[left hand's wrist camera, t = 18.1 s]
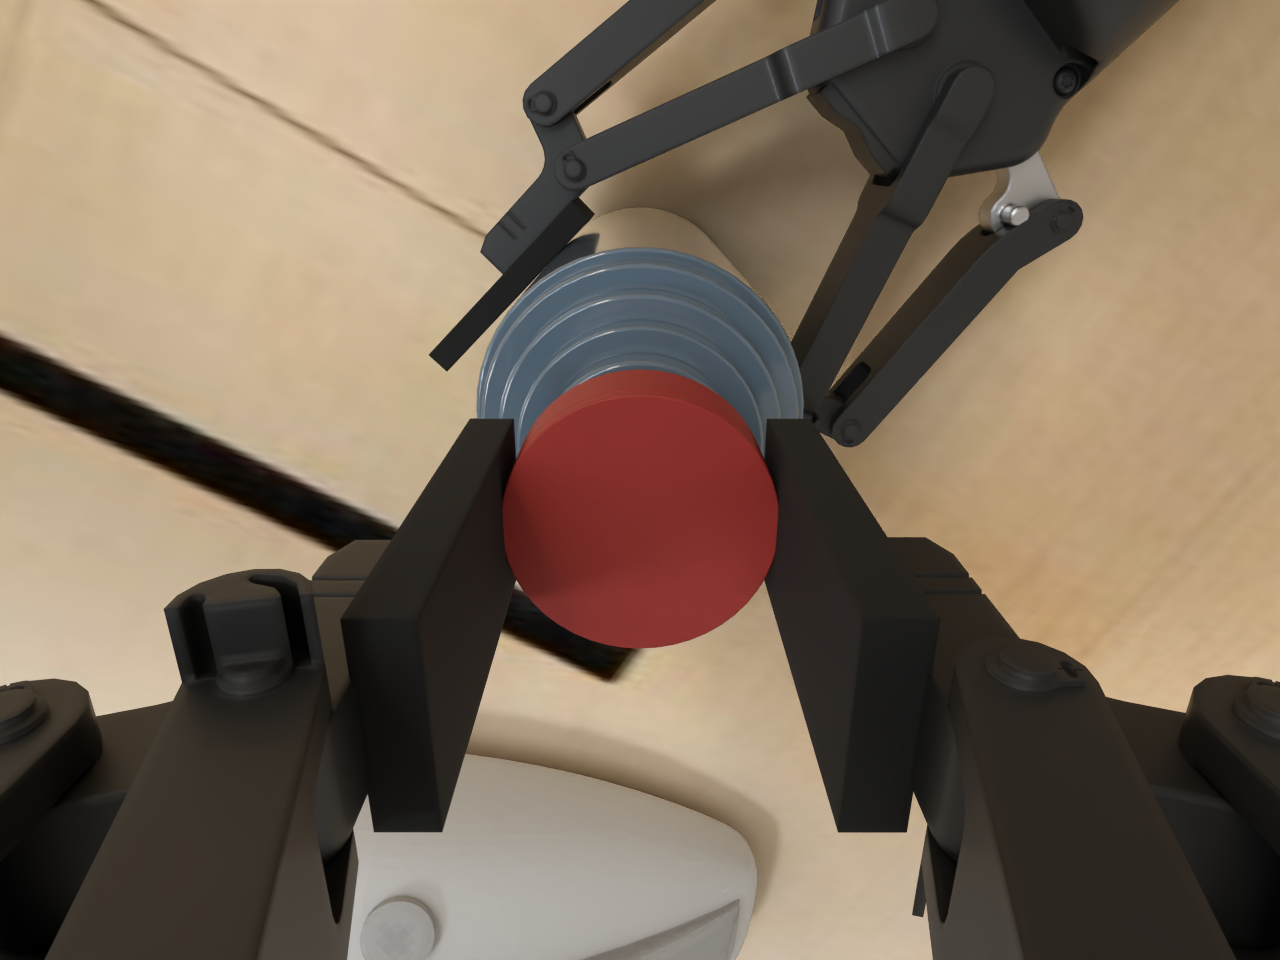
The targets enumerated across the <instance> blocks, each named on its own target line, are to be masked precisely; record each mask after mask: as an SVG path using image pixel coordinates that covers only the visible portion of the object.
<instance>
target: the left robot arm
mask: <svg viewBox="0 0 1280 960" xmlns="http://www.w3.org/2000/svg"><path fill="white" fill-rule="evenodd" d="M764 460H765V462H766V465H767V467H768V470H769V472H770V474H771V477H772V479H773V483H774V486H775V489H776V493H777V496H778V522H777V536H776V550H775V556H774V560H773V562H772V565H771V567H770V569H769V571H768V574H767V576H766V578H765V579H764V580H765V584H766V587H767V591H768V594H769V597H770V601H771V604H772V608H773V611H774V615H775V618H776V621H777V625H778V628H779V632H780V635H781V639H782V642H783V645H784V649H785V652H786V656H787V659H788V662H789V666H790V669H791V673H792V676H793V680H794V683H795V686H796V690H797V693H798V697H799V700H800V703H801V707H802V710H803V714H804V717H805V721H806V724H807V727H808V731H809V734H810V738H811V741H812V744H813V748H814V751H815V755H816V758H817V762H818V765H819V768H820V772H821V775H822V779H823V782H824V785H825V789H826V792H827V796H828V799H829V803H830V806H831V809H832V813H833V816H834V820H835V823H836V826H837V830H838V832H907V827H908V821H909V815H910V808H911V802H912V796H913V792H914V794H915V796H916V798H917V801H918V803H919V805H920V808H921V810H922V812H923V815H924V817H925V819H926V822H927V830H926V836H925V841H924V847H923V853H922V859H921V865H920V871H919V877H918V882H917V888H916V894H915V900H914V907H913V913H912V915H914V916H920V917H923V915H924V910H925V905H927V913H928V921H929V930H930V938H931V946H932V955H933V960H1280V682H1278V681H1276V683H1275V682H1272V680H1270V679H1264V678H1259V677H1244V676H1233V675H1224V676H1218V677H1211V678H1206V679H1204V680H1203V681H1202V682H1200V683H1199V684H1198V685H1196V686H1195V687H1194V688H1193V691H1192V695H1191V698H1190V701H1189V705H1188V708H1187V711H1186V713H1182V712H1177V711H1172V710H1167V709H1161V708H1156V707H1151V706H1145V705H1140V704H1135V703H1130V702H1125V701H1121V700H1116V699H1112V698H1108V697H1105V695H1104V693H1103V691H1102V689H1101V687H1100V685H1099V683H1098V681H1097V680H1096V679H1095V678H1094V676H1093V675H1092V674H1091V673H1090V671H1089V670H1088V669H1087V668H1086V667H1085V666H1084V665H1082V664H1081V663H1079V662H1078V661H1076V660H1075V659H1073V658H1072V657H1070V656H1069V655H1067V654H1066V653H1064V652H1061V651H1059V650H1056V649H1054V648H1051V647H1049V646H1046V645H1044V644H1041V643H1038V642H1034V641H1029V640H1024V639H1020V638H1019V637H1018V636H1017V634H1016V633H1015V632H1014V631H1013V629H1012V628H1011V627H1010V625H1009V624H1008V623H1007V622H1006V620H1005V619H1004V618H1003V617H1002V615H1001V614H1000V613H999V611H998V610H997V609H996V608H995V606H994V605H993V604H992V603H991V601H990V600H989V599H988V598H987V596H986V595H985V594H982V590H981V589H980V587H979V586H978V585H977V584H976V582H975V581H974V580H973V578H969V573H968V572H967V571H966V570H965V568H964V567H963V566H962V565H961V563H960V562H959V561H958V559H957V558H956V557H955V556H954V554H952V553H951V552H949V551H947V550H946V549H944V548H942V547H941V546H939V545H937V544H936V543H934V542H932V541H931V540H929V539H927V538H926V537H887V536H886V534H885V533H884V531H883V530H882V528H881V527H880V525H879V524H878V522H877V521H876V519H875V517H874V516H873V514H872V513H871V511H870V510H869V508H868V507H867V505H866V504H865V502H864V500H863V499H862V497H861V496H860V494H859V493H858V491H857V490H856V488H855V487H854V485H853V484H852V482H851V480H850V479H849V477H848V476H847V474H846V473H845V471H844V470H843V468H842V467H841V465H840V464H839V462H838V460H837V459H836V457H835V456H834V454H833V453H832V451H831V450H830V448H829V447H828V445H827V444H826V442H825V440H824V439H823V437H822V436H821V434H820V433H819V431H818V430H817V428H816V427H815V425H814V423H813V422H812V420H811V419H767V422H766V439H765V455H764ZM515 461H516V446H515V430H514V419H470V420H469V421H468V423H467V424H466V426H465V427H464V429H463V431H462V432H461V434H460V435H459V437H458V438H457V440H456V441H455V443H454V444H453V446H452V447H451V449H450V451H449V452H448V454H447V455H446V457H445V458H444V460H443V461H442V463H441V464H440V466H439V467H438V469H437V471H436V472H435V474H434V475H433V477H432V478H431V480H430V481H429V483H428V484H427V486H426V488H425V489H424V491H423V492H422V494H421V495H420V497H419V498H418V500H417V501H416V503H415V504H414V506H413V508H412V509H411V511H410V512H409V514H408V515H407V517H406V518H405V520H404V521H403V523H402V524H401V526H400V528H399V529H398V531H397V532H396V534H395V535H394V537H393V538H392V540H355V541H353V542H351V543H350V544H348V545H347V546H345V547H343V548H342V549H340V550H338V551H337V552H335V553H333V554H332V555H330V556H328V557H327V558H326V560H325V561H324V562H323V564H322V565H321V566H320V567H319V569H318V570H317V571H316V572H315V574H314V575H313V576H312V580H308V579H307V578H305V577H304V576H303V575H301V574H300V573H296V572H291V571H287V570H282V569H253V570H247V571H242V572H236V573H230V574H225V575H222V576H219V577H217V578H214V579H211V580H208V581H205V582H202V583H199V584H197V585H195V586H194V587H192V588H190V589H188V590H186V591H185V592H183V593H181V594H179V595H177V596H176V597H175V598H174V599H173V600H172V601H171V602H170V603H169V604H168V605H167V606H166V607H165V608H164V612H165V616H166V620H167V624H168V628H169V632H170V636H171V640H172V644H173V648H174V652H175V656H176V660H177V664H178V668H179V672H180V676H181V680H182V684H181V686H180V688H179V690H178V692H177V694H176V696H175V698H174V700H173V701H171V702H167V703H163V704H159V705H154V706H149V707H144V708H138V709H133V710H128V711H123V712H117V713H112V714H107V715H102V716H96V715H95V712H94V709H93V706H92V702H91V699H90V696H89V692H88V691H87V690H86V689H85V688H83V687H82V686H81V685H79V684H78V683H77V682H73V681H66V680H60V679H45V680H35V681H21V682H16V683H11V684H10V686H6V685H4V686H0V960H347V956H348V948H349V940H350V931H351V923H352V915H353V906H354V898H355V890H356V881H357V873H358V865H359V861H358V854H357V847H356V841H355V836H354V830H353V827H354V825H355V823H356V820H357V818H358V816H359V813H360V811H361V809H362V806H363V804H364V802H365V799H366V797H367V795H368V799H369V805H370V811H371V818H372V824H373V830H374V832H443V828H444V825H445V821H446V818H447V815H448V811H449V808H450V804H451V801H452V798H453V794H454V791H455V787H456V784H457V780H458V777H459V774H460V770H461V767H462V763H463V760H464V757H465V753H466V750H467V746H468V743H469V739H470V736H471V733H472V729H473V726H474V722H475V719H476V715H477V712H478V709H479V705H480V702H481V698H482V695H483V692H484V688H485V685H486V681H487V678H488V674H489V671H490V668H491V664H492V661H493V657H494V654H495V651H496V647H497V644H498V640H499V637H500V633H501V630H502V627H503V623H504V620H505V616H506V613H507V610H508V606H509V603H510V599H511V596H512V592H513V589H514V586H515V582H516V578H515V577H514V574H513V572H512V570H511V568H510V566H509V563H508V561H507V558H506V554H505V543H504V528H503V514H502V500H503V494H504V491H505V488H506V484H507V481H508V478H509V476H510V473H511V471H512V468H513V466H514V464H515Z"/></svg>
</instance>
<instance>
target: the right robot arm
mask: <svg viewBox="0 0 1280 960" xmlns="http://www.w3.org/2000/svg"><path fill="white" fill-rule="evenodd" d="M715 1H716V0H629V1H628V2H627V3H626V4H625V5H623V6H622V7H621V8H620V9H619V10H618V11H616V12H615V13H614V14H613V15H612V16H610V17H609V18H608V19H607V20H606V21H605V22H603V23H602V24H601V25H600V26H599V27H597V28H596V29H595V30H594V31H593V32H592V33H590V34H589V35H588V36H587V37H586V38H584V39H583V40H582V41H581V42H580V43H579V44H577V45H576V46H575V47H574V48H573V49H571V50H570V51H569V52H568V53H567V54H566V55H564V56H563V57H562V58H561V59H560V60H558V61H557V62H556V63H555V64H554V65H553V66H551V67H550V68H549V69H548V70H547V71H546V72H544V73H543V74H542V75H541V76H540V77H538V78H537V79H536V80H535V81H534V82H533V83H531V84H530V85H529V87H528V88H527V89H526V91H525V93H524V97H523V109H524V111H525V113H526V115H527V117H528V118H529V119H530V121H531V123H532V125H533V127H534V129H535V132H536V134H537V136H538V138H539V140H540V142H541V144H542V147H543V150H544V155H545V163H544V168H543V170H542V173H541V174H540V176H539V177H538V179H537V180H536V181H535V182H534V183H533V184H532V185H531V186H530V187H529V189H528V190H527V191H526V192H525V193H524V194H523V195H522V196H521V197H520V198H519V200H518V201H517V202H516V203H515V204H514V205H513V206H512V207H511V208H510V210H509V211H508V212H507V213H506V214H505V215H504V216H503V217H502V218H501V220H500V221H499V222H498V223H497V224H496V225H495V226H494V227H493V228H492V229H491V231H490V232H489V233H488V234H487V235H486V237H485V240H484V243H483V246H482V249H481V253H482V254H483V255H484V256H485V257H486V258H487V259H488V260H489V261H490V262H491V263H492V264H493V265H494V266H495V267H496V268H497V269H498V270H499V271H500V272H501V273H502V274H503V275H502V276H501V277H500V279H499V280H498V281H497V282H496V283H495V284H494V285H493V286H492V287H491V288H490V289H489V290H488V291H487V293H486V294H485V295H484V296H483V297H482V298H481V299H480V300H479V301H478V302H477V303H476V304H475V306H474V307H473V308H472V309H471V310H470V311H469V312H468V313H467V314H466V315H465V316H464V317H463V318H462V320H461V321H460V322H459V323H458V324H457V325H456V326H455V327H454V328H453V329H452V330H451V331H450V332H449V334H448V335H447V336H446V337H445V338H444V339H443V340H442V341H441V342H440V343H439V344H438V345H437V346H436V348H435V349H434V350H433V351H432V352H431V353H430V354H429V356H430V357H431V358H433V359H434V360H435V361H436V362H437V363H438V364H439V365H440V366H441V367H442V368H444V369H445V370H446V371H448V370H449V369H450V368H451V367H452V366H453V365H454V364H455V363H456V361H457V360H458V359H459V358H460V357H461V356H462V355H463V354H464V353H465V352H466V351H467V350H468V349H469V348H470V347H471V346H472V345H473V343H474V342H475V341H476V340H477V339H478V338H479V337H480V336H481V335H482V334H483V333H484V332H485V331H486V330H487V329H488V328H489V326H490V325H491V324H492V323H493V322H494V321H495V320H496V319H497V318H498V317H499V316H500V315H501V314H502V313H503V312H504V311H505V310H506V308H507V307H508V306H509V305H510V304H511V303H512V302H513V301H514V300H515V299H516V298H517V297H518V296H519V295H520V294H521V293H522V292H523V290H524V289H525V288H526V287H527V286H528V285H529V284H530V283H531V282H532V281H533V280H534V279H535V278H536V277H537V276H538V275H539V273H540V272H541V271H542V270H543V269H544V268H545V267H546V266H547V265H548V264H549V263H550V262H551V261H552V260H553V258H554V257H555V256H556V255H557V254H558V253H559V252H560V251H561V250H562V249H563V248H564V247H565V246H566V245H567V244H568V243H569V242H570V241H571V240H572V238H573V237H574V236H575V235H576V234H577V233H578V232H579V231H580V230H581V229H582V228H583V227H584V226H585V225H586V224H587V223H588V222H589V220H590V219H591V218H592V217H593V216H594V213H593V212H592V211H591V210H590V209H589V208H588V207H587V206H586V205H585V203H584V202H583V201H582V200H581V199H580V198H579V197H580V196H581V194H582V193H583V192H584V191H585V190H586V189H587V188H588V187H589V186H591V185H594V184H596V183H598V182H600V181H602V180H605V179H607V178H609V177H611V176H614V175H616V174H618V173H620V172H623V171H625V170H627V169H629V168H632V167H634V166H636V165H638V164H641V163H643V162H645V161H647V160H649V159H652V158H654V157H656V156H658V155H661V154H663V153H665V152H667V151H670V150H672V149H674V148H676V147H679V146H681V145H683V144H685V143H688V142H690V141H692V140H694V139H696V138H699V137H701V136H703V135H705V134H708V133H710V132H712V131H714V130H717V129H719V128H721V127H723V126H726V125H728V124H730V123H732V122H734V121H737V120H739V119H741V118H743V117H746V116H748V115H750V114H752V113H755V112H757V111H759V110H761V109H764V108H766V107H768V106H770V105H773V104H775V103H777V102H779V101H782V100H784V99H786V98H788V97H791V96H793V95H795V94H797V93H800V92H802V91H804V90H806V89H808V92H809V95H808V96H807V97H806V98H807V99H808V100H809V101H810V102H811V104H812V105H813V106H814V107H815V109H816V110H817V111H818V112H819V113H820V115H821V116H822V117H824V118H825V119H827V120H828V121H830V122H831V123H832V124H834V125H835V126H837V127H838V128H840V129H841V130H843V131H844V133H845V135H846V137H847V140H848V142H849V144H850V147H851V149H852V151H853V153H854V156H855V157H856V158H857V159H858V160H859V162H860V163H861V164H862V165H863V167H864V168H865V169H866V170H867V171H868V173H869V174H871V175H870V177H869V179H868V181H867V183H866V185H865V187H864V189H863V191H862V193H861V196H860V198H859V201H858V208H857V211H856V214H855V216H854V218H853V220H852V222H851V224H850V226H849V228H848V230H847V232H846V234H845V236H844V238H843V240H842V242H841V244H840V246H839V248H838V250H837V252H836V254H835V256H834V258H833V260H832V262H831V264H830V266H829V268H828V270H827V272H826V274H825V276H824V278H823V280H822V282H821V284H820V286H819V288H818V290H817V292H816V294H815V296H814V298H813V300H812V302H811V304H810V306H809V308H808V310H807V312H806V314H805V316H804V318H803V320H802V322H801V324H800V326H799V327H798V329H797V331H796V333H795V335H794V337H793V339H792V341H791V345H792V347H793V350H794V353H795V355H796V358H797V361H798V365H799V369H800V374H801V378H802V385H803V397H804V410H803V419H811V420H812V422H813V423H814V425H815V427H816V428H817V430H818V431H819V432H820V433H822V434H824V435H827V436H829V437H831V438H833V439H835V441H836V442H837V443H838V444H840V445H842V446H844V447H854V446H857V445H859V444H860V443H862V442H863V441H864V440H865V439H866V438H867V437H868V436H869V435H870V434H871V433H872V431H873V430H874V429H875V428H876V427H877V426H878V425H879V424H880V423H881V421H882V420H883V419H884V418H885V417H886V416H887V415H888V414H889V413H890V411H891V410H892V409H893V408H894V407H895V406H896V405H897V404H898V403H899V401H900V400H901V399H902V398H903V397H904V396H905V395H906V394H907V393H908V391H909V390H910V389H911V388H912V387H913V386H914V385H915V384H916V383H917V381H918V380H919V379H920V378H921V377H922V376H923V375H924V374H925V373H926V372H927V370H928V369H929V368H930V367H931V366H932V365H933V364H934V363H935V362H936V360H937V359H938V358H939V357H940V356H941V355H942V354H943V353H944V352H945V350H946V349H947V348H948V347H949V346H950V345H951V344H952V343H953V342H954V340H955V339H956V338H957V337H958V336H959V335H960V334H961V333H962V332H963V330H964V329H965V328H966V327H967V326H968V325H969V324H970V323H971V322H972V320H973V319H974V318H975V317H976V316H977V315H978V314H979V313H980V312H981V311H982V309H983V308H984V307H985V306H986V305H987V304H988V303H989V302H990V301H991V299H992V298H993V297H994V296H995V295H996V294H997V293H998V292H999V291H1000V289H1001V288H1002V287H1003V286H1004V285H1005V284H1006V283H1007V282H1008V281H1009V279H1010V278H1011V277H1012V276H1013V275H1014V274H1015V273H1016V272H1017V271H1018V270H1019V269H1020V268H1022V267H1024V266H1025V265H1027V264H1029V263H1030V262H1032V261H1034V260H1035V259H1037V258H1039V257H1040V256H1042V255H1044V254H1045V253H1047V252H1049V251H1050V250H1052V249H1054V248H1055V247H1057V246H1059V245H1060V244H1062V243H1064V242H1065V241H1067V240H1069V239H1070V238H1071V237H1073V236H1074V235H1075V234H1076V233H1077V232H1078V230H1079V229H1080V227H1081V225H1082V220H1083V213H1082V209H1081V208H1080V206H1079V205H1078V204H1077V203H1076V202H1074V201H1072V200H1066V199H1060V198H1059V196H1058V194H1057V192H1056V190H1055V187H1054V185H1053V183H1052V181H1051V178H1050V176H1049V174H1048V171H1047V169H1046V167H1045V164H1044V162H1043V160H1042V158H1041V155H1040V153H1039V151H1038V150H1039V149H1040V148H1041V147H1042V145H1043V144H1044V142H1045V140H1046V139H1047V137H1048V134H1049V132H1050V129H1051V127H1052V125H1053V123H1054V121H1055V119H1056V117H1057V115H1058V114H1059V112H1060V111H1061V109H1062V108H1063V107H1064V105H1065V104H1066V103H1067V102H1068V101H1069V100H1070V99H1071V98H1072V97H1073V96H1074V95H1075V94H1076V93H1078V92H1079V91H1080V90H1081V89H1082V88H1083V87H1085V86H1086V85H1087V84H1088V83H1089V82H1090V81H1091V80H1093V79H1094V78H1095V77H1096V76H1097V75H1098V74H1099V73H1100V72H1101V71H1102V70H1104V69H1105V68H1106V67H1107V66H1108V65H1109V64H1110V63H1111V62H1112V61H1113V60H1114V59H1116V58H1117V57H1118V56H1119V55H1120V54H1121V53H1122V52H1123V51H1124V50H1125V49H1126V48H1128V47H1129V46H1130V45H1131V44H1132V43H1133V42H1134V41H1135V40H1136V39H1137V38H1138V37H1140V36H1141V35H1142V34H1143V33H1144V32H1145V31H1146V30H1147V29H1148V28H1149V27H1150V26H1152V25H1153V24H1154V23H1155V22H1156V21H1157V20H1158V19H1159V18H1160V17H1161V16H1162V15H1164V14H1165V13H1166V12H1167V11H1168V10H1169V9H1170V8H1171V7H1172V6H1173V5H1174V4H1176V3H1177V2H1178V1H1179V0H817V5H816V10H815V14H814V19H813V24H812V28H811V33H810V36H809V37H807V38H805V39H802V40H800V41H798V42H796V43H794V44H792V45H789V46H787V47H785V48H783V49H781V50H779V51H777V52H775V53H773V54H771V55H769V56H767V57H765V58H763V59H761V60H758V61H756V62H754V63H752V64H750V65H747V66H745V67H743V68H741V69H739V70H737V71H734V72H732V73H730V74H728V75H726V76H723V77H721V78H719V79H717V80H715V81H712V82H710V83H708V84H706V85H704V86H701V87H699V88H697V89H695V90H693V91H690V92H688V93H686V94H684V95H682V96H680V97H677V98H675V99H673V100H671V101H669V102H666V103H664V104H662V105H660V106H658V107H655V108H653V109H651V110H649V111H647V112H644V113H642V114H640V115H638V116H636V117H634V118H631V119H629V120H627V121H625V122H623V123H620V124H618V125H616V126H614V127H612V128H609V129H607V130H605V131H603V132H601V133H598V134H596V135H594V136H592V137H590V138H587V139H586V136H585V134H584V132H583V130H582V127H581V125H580V123H579V121H578V118H577V116H576V115H577V114H579V113H580V112H581V111H582V110H583V109H585V108H586V107H587V106H588V105H590V104H591V103H592V102H593V101H594V100H596V99H597V98H598V97H599V96H600V95H602V94H603V93H604V92H605V91H607V90H608V89H609V88H610V87H611V86H613V85H614V84H615V83H616V82H617V81H619V80H620V79H621V78H622V77H624V76H625V75H626V74H627V73H628V72H630V71H631V70H632V69H633V68H634V67H636V66H637V65H638V64H639V63H641V62H642V61H643V60H644V59H645V58H647V57H648V56H649V55H650V54H651V53H653V52H654V51H655V50H656V49H658V48H659V47H660V46H661V45H662V44H664V43H665V42H666V41H667V40H668V39H670V38H671V37H672V36H673V35H675V34H676V33H677V32H678V31H679V30H681V29H682V28H683V27H684V26H685V25H687V24H688V23H689V22H690V21H692V20H693V19H694V18H695V17H696V16H698V15H699V14H700V13H701V12H702V11H704V10H705V9H706V8H707V7H709V6H710V5H711V4H712V3H713V2H715ZM990 170H996V172H997V183H996V187H995V189H994V191H993V192H992V194H991V195H990V196H989V197H988V198H987V199H986V200H985V201H984V202H983V203H982V205H981V207H980V210H979V222H980V224H979V225H978V226H976V227H975V228H973V229H972V230H971V231H970V232H969V233H967V234H966V235H965V236H964V237H963V238H962V239H960V241H959V242H958V243H957V244H956V245H955V246H954V247H953V248H952V249H951V250H950V251H949V252H948V253H947V255H946V256H945V257H944V258H943V259H942V260H941V262H940V263H939V264H938V265H937V266H936V267H935V268H934V270H933V271H932V272H931V273H930V274H929V275H928V277H927V278H926V279H925V280H924V281H923V282H922V284H921V285H920V286H919V287H918V288H917V289H916V290H915V292H914V293H913V294H912V295H911V296H910V297H909V299H908V300H907V301H906V302H905V303H904V304H903V306H902V307H901V308H900V309H899V310H898V311H897V312H896V314H895V315H894V316H893V317H892V318H891V319H890V321H889V322H888V323H887V324H886V325H885V326H884V328H883V329H882V330H881V331H880V332H879V333H878V334H877V336H876V337H875V338H874V339H873V340H872V341H871V343H870V344H869V345H868V346H867V347H866V348H865V350H864V351H863V352H862V353H861V354H860V355H859V356H858V358H857V359H856V360H855V361H854V362H853V363H852V365H851V366H850V367H849V368H848V369H847V370H846V372H845V373H844V374H843V375H842V376H841V377H840V378H839V380H838V381H837V382H836V383H835V384H834V385H833V387H832V388H831V389H830V387H831V385H832V383H833V381H834V379H835V377H836V376H837V374H838V372H839V370H840V368H841V366H842V364H843V362H844V360H845V359H846V357H847V355H848V353H849V351H850V349H851V347H852V345H853V343H854V342H855V340H856V338H857V336H858V334H859V332H860V330H861V328H862V326H863V325H864V323H865V321H866V319H867V317H868V315H869V313H870V311H871V310H872V308H873V306H874V304H875V302H876V300H877V298H878V296H879V294H880V293H881V291H882V289H883V287H884V285H885V283H886V281H887V279H888V277H889V276H890V274H891V272H892V270H893V268H894V266H895V264H896V262H897V260H898V259H899V257H900V255H901V253H902V251H903V249H904V247H905V245H906V243H907V242H908V240H909V238H910V236H911V234H912V233H913V232H914V230H915V229H917V228H918V227H919V226H920V225H921V224H922V223H923V221H924V220H925V219H926V217H927V215H928V214H929V212H930V210H931V208H932V206H933V204H934V202H935V200H936V199H937V197H938V195H939V193H940V191H941V189H942V187H943V185H944V184H945V182H946V180H947V178H948V177H953V176H959V175H965V174H971V173H977V172H984V171H990ZM829 389H830V390H829Z"/></svg>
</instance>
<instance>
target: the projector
mask: <svg viewBox="0 0 1280 960" xmlns="http://www.w3.org/2000/svg"><path fill="white" fill-rule="evenodd" d="M353 830H354V836H355V841H356V847H357V854H358V861H359V865H358V873H357V881H356V890H355V898H354V906H353V915H352V923H351V931H350V940H349V948H348V956H347V960H735V959H736V958H737V956H738V954H739V952H740V950H741V948H742V945H743V943H744V940H745V938H746V934H747V931H748V927H749V924H750V920H751V916H752V912H753V907H754V903H755V897H756V890H757V868H756V863H755V860H754V856H753V853H752V851H751V849H750V847H749V845H748V843H747V842H746V840H745V839H744V838H743V837H742V835H741V834H740V833H738V832H737V831H736V830H734V829H733V828H731V827H730V826H728V825H726V824H724V823H722V822H720V821H718V820H715V819H713V818H711V817H709V816H706V815H704V814H702V813H700V812H697V811H694V810H692V809H689V808H686V807H684V806H681V805H678V804H676V803H673V802H670V801H667V800H664V799H661V798H659V797H656V796H653V795H650V794H647V793H644V792H641V791H637V790H634V789H631V788H627V787H624V786H620V785H617V784H614V783H610V782H607V781H603V780H599V779H595V778H591V777H587V776H583V775H579V774H575V773H571V772H567V771H562V770H557V769H553V768H548V767H543V766H538V765H533V764H528V763H522V762H516V761H510V760H505V759H499V758H492V757H485V756H478V755H471V754H465V757H464V760H463V763H462V767H461V770H460V774H459V777H458V780H457V784H456V787H455V791H454V794H453V798H452V801H451V804H450V808H449V811H448V815H447V818H446V821H445V825H444V828H443V832H374V830H373V824H372V818H371V811H370V805H369V799H368V795H367V797H366V799H365V802H364V804H363V806H362V809H361V811H360V813H359V816H358V818H357V820H356V823H355V825H354V827H353Z"/></svg>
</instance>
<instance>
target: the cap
mask: <svg viewBox="0 0 1280 960" xmlns="http://www.w3.org/2000/svg"><path fill="white" fill-rule="evenodd" d="M502 514H503V528H504V543H505V554H506V558H507V561H508V563H509V566H510V568H511V570H512V572H513V574H514V577H515V578H516V580H517V581H518V583H519V585H520V586H521V588H522V589H523V591H524V592H525V593H526V595H527V596H528V597H529V598H530V600H531V601H532V602H533V603H534V604H535V605H536V606H537V607H538V608H539V609H540V610H541V611H542V612H543V613H544V614H545V615H547V616H548V617H549V618H551V619H552V620H553V621H555V622H556V623H557V624H559V625H560V626H562V627H564V628H566V629H568V630H569V631H571V632H573V633H575V634H577V635H580V636H582V637H584V638H587V639H589V640H592V641H596V642H599V643H603V644H606V645H612V646H618V647H625V648H656V647H663V646H669V645H674V644H678V643H681V642H685V641H688V640H691V639H694V638H696V637H699V636H701V635H703V634H706V633H708V632H709V631H711V630H713V629H715V628H717V627H718V626H720V625H722V624H723V623H724V622H726V621H727V620H729V619H730V618H731V617H733V616H734V615H735V614H736V613H737V612H738V611H739V610H740V609H742V608H743V607H744V606H745V605H746V604H747V603H748V601H749V600H750V599H751V598H752V597H753V595H754V594H755V593H756V592H757V590H758V589H759V587H760V586H761V584H762V582H763V581H764V579H765V578H766V576H767V574H768V571H769V569H770V567H771V565H772V562H773V560H774V556H775V550H776V536H777V522H778V496H777V493H776V489H775V486H774V483H773V479H772V477H771V474H770V472H769V470H768V467H767V465H766V462H765V460H764V457H763V455H762V453H761V450H760V448H759V445H758V443H757V441H756V439H755V437H754V435H753V433H752V431H751V430H750V428H749V427H748V425H747V423H746V422H745V420H744V419H743V418H742V417H741V416H740V414H739V413H738V412H737V411H736V410H735V409H734V407H733V406H731V405H730V404H729V403H728V402H727V401H726V400H725V399H723V398H722V397H721V396H720V395H718V394H717V393H715V392H714V391H712V390H711V389H709V388H708V387H706V386H704V385H702V384H700V383H698V382H696V381H694V380H692V379H689V378H686V377H683V376H680V375H677V374H673V373H668V372H663V371H657V370H642V369H639V370H623V371H618V372H613V373H608V374H604V375H601V376H598V377H595V378H592V379H589V380H587V381H585V382H583V383H581V384H579V385H577V386H575V387H573V388H571V389H570V390H568V391H567V392H565V393H564V394H562V395H561V396H559V397H558V398H557V399H556V400H555V401H554V402H553V403H551V404H550V405H549V406H548V407H547V408H546V409H545V410H544V412H543V413H542V414H541V415H540V416H539V417H538V418H537V420H536V421H535V423H534V424H533V426H532V427H531V429H530V430H529V432H528V434H527V436H526V438H525V440H524V442H523V444H522V447H521V449H520V451H519V454H518V456H517V459H516V461H515V464H514V466H513V468H512V471H511V473H510V476H509V478H508V481H507V484H506V488H505V491H504V494H503V500H502Z"/></svg>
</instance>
